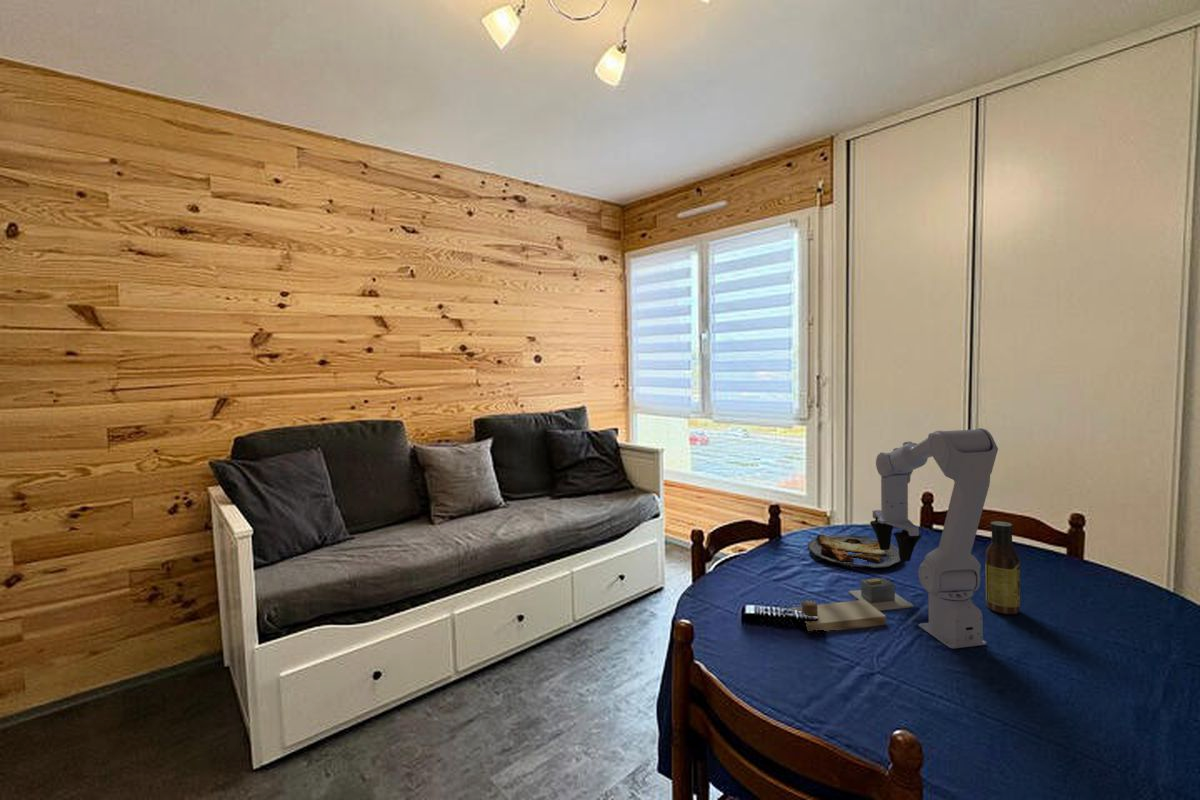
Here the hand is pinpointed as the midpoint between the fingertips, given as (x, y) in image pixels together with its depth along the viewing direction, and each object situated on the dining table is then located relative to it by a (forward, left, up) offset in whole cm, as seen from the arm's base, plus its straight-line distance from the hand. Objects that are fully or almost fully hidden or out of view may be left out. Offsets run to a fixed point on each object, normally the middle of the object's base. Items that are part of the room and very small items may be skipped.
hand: (894, 554), depth 132 cm
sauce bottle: (-13, -17, -10) cm, 23 cm away
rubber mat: (-3, +6, -9) cm, 12 cm away
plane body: (-10, +21, -9) cm, 25 cm away
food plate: (+24, -4, -10) cm, 26 cm away
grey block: (-3, +6, -9) cm, 12 cm away
